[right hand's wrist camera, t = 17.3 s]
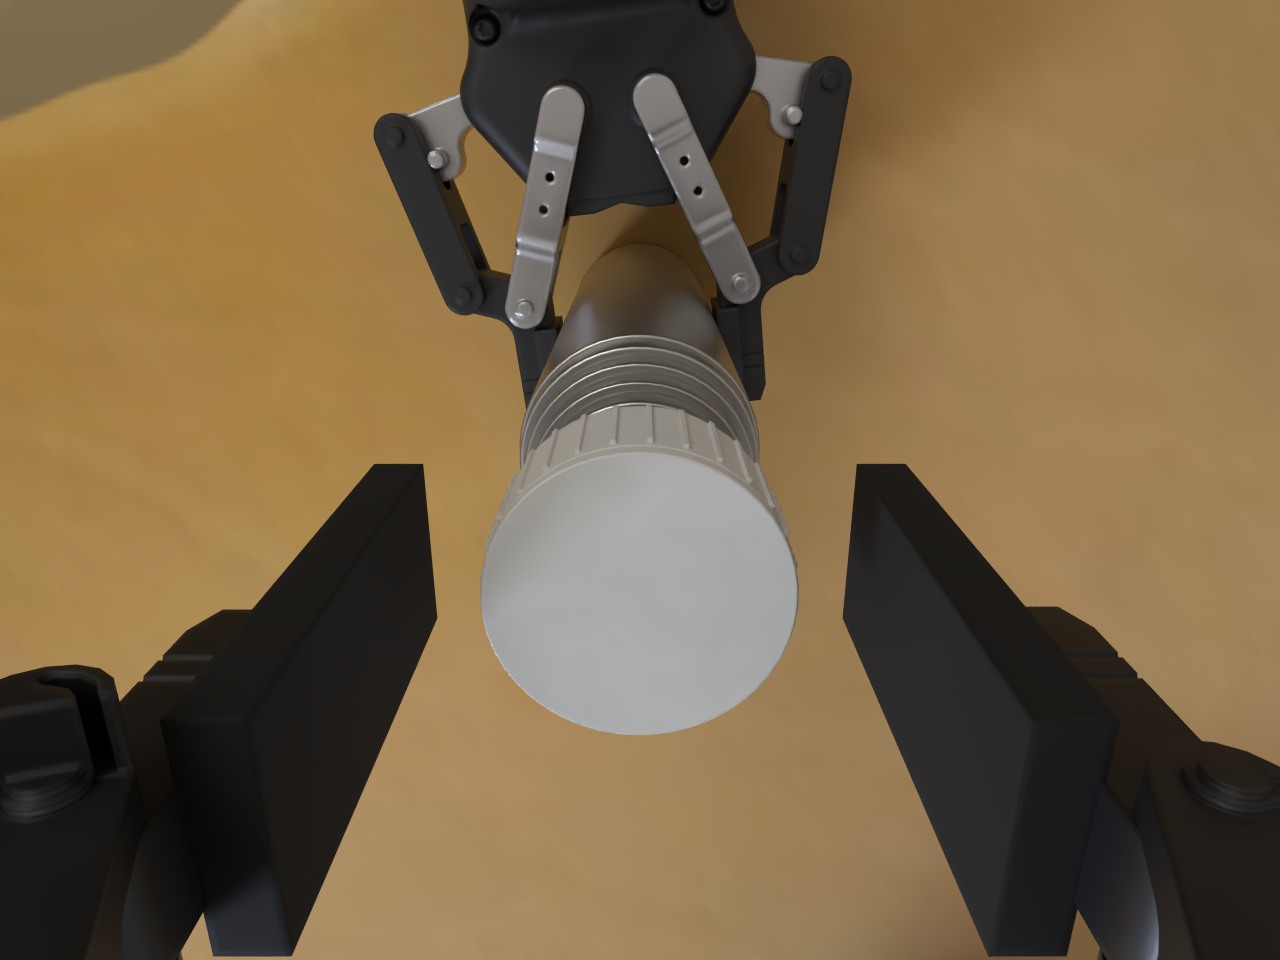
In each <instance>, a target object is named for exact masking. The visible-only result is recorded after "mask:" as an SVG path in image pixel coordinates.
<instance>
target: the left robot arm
mask: <svg viewBox="0 0 1280 960" xmlns="http://www.w3.org/2000/svg"><path fill="white" fill-rule="evenodd" d="M463 5H464V11H465V17H466V23H467V29H468V38H469V49H468V58H467V64H466V68H465V71H464V74H463V76H462V80H461V84H460V93H459V94H456V95H454V96H451V97H449V98H446V99H444V100H441V101H439V102H436V103H434V104H431V105H429V106H426V107H424V108H422V109H419V110H417V111H414V112H412V113H409V114H404V113H389V114H386V115H384V116H382V117H381V118H380V119H379V120H378V121H377V123H376V125H375V127H374V140H375V143H376V145H377V148H378V150H379V152H380V155H381V157H382V159H383V161H384V164H385V166H386V168H387V171H388V173H389V175H390V177H391V180H392V182H393V184H394V187H395V189H396V191H397V194H398V196H399V198H400V200H401V203H402V205H403V207H404V210H405V212H406V214H407V216H408V219H409V221H410V223H411V226H412V228H413V230H414V232H415V235H416V237H417V239H418V242H419V244H420V246H421V248H422V251H423V253H424V255H425V258H426V260H427V262H428V264H429V267H430V269H431V271H432V274H433V276H434V278H435V280H436V283H437V285H438V287H439V290H440V292H441V294H442V296H443V299H444V301H445V303H446V305H447V306H448V308H449V309H450V310H451V311H453V312H454V313H456V314H459V315H470V314H473V313H474V314H478V315H482V316H487V317H491V318H495V319H498V320H500V321H502V322H503V323H505V324H506V325H507V326H508V327H509V328H510V330H511V331H512V333H513V336H514V339H515V344H516V350H517V356H518V362H519V368H520V374H521V380H522V387H523V392H524V399H525V405H526V410H527V407H528V405H529V402H530V400H531V397H532V395H533V393H534V390H535V388H536V386H537V383H538V381H539V379H540V377H541V374H542V372H543V370H544V367H545V365H546V363H547V360H548V358H549V356H550V354H551V351H552V349H553V347H554V344H555V342H556V340H557V337H558V335H559V333H560V331H561V328H562V326H563V319H562V316H557V317H555V312H554V305H553V298H552V297H553V293H554V288H555V283H556V278H557V274H558V269H559V264H560V259H561V255H562V250H563V247H564V243H565V239H566V235H567V230H568V226H569V221H570V216H577V215H586V214H594V213H597V212H600V211H602V210H605V209H607V208H610V207H612V206H614V205H617V204H619V203H627V204H634V205H640V206H647V207H652V206H660V205H668V204H675V201H676V200H677V201H678V203H679V205H680V207H681V209H682V211H683V213H684V216H685V218H686V220H687V222H688V224H689V226H690V228H691V230H692V232H693V234H694V236H695V238H696V240H697V243H698V245H699V247H700V249H701V251H702V253H703V255H704V257H705V259H706V262H707V264H708V266H709V268H710V270H711V272H712V274H713V276H714V278H715V281H716V289H717V297H715V298H711V305H712V316H713V318H714V320H715V323H716V325H717V327H718V329H719V332H720V334H721V336H722V339H723V341H724V343H725V346H726V348H727V350H728V353H729V355H730V357H731V360H732V362H733V364H734V367H735V369H736V371H737V374H738V376H739V378H740V380H741V383H742V385H743V387H744V390H745V392H746V394H747V397H748V399H749V401H754V400H761V397H762V394H763V390H764V387H765V384H766V381H765V367H764V354H763V338H762V323H761V303H762V300H763V297H764V296H765V294H766V293H767V291H768V290H769V289H770V288H772V287H773V286H775V285H776V284H778V283H780V282H782V281H784V280H787V279H789V278H791V277H793V276H795V275H803V274H806V273H808V272H810V271H811V270H812V269H813V268H814V267H815V266H816V264H817V262H818V259H819V255H820V249H821V244H822V238H823V233H824V228H825V222H826V217H827V211H828V206H829V200H830V195H831V190H832V184H833V179H834V173H835V168H836V163H837V157H838V152H839V146H840V141H841V135H842V130H843V125H844V119H845V114H846V108H847V103H848V97H849V92H850V87H851V80H852V76H851V71H850V68H849V66H848V64H847V63H846V62H845V61H844V60H842V59H841V58H839V57H835V56H828V57H824V58H822V59H820V60H818V61H816V62H803V61H796V60H788V59H780V58H773V57H765V56H758V55H755V52H754V49H753V46H752V44H751V42H750V41H749V39H748V38H747V36H746V34H745V33H744V31H743V29H742V27H741V25H740V23H739V21H738V18H737V15H736V11H735V7H734V1H733V0H463ZM749 92H751V93H754V94H756V95H757V96H758V97H759V98H761V100H762V101H763V103H764V105H765V109H766V123H767V127H768V129H769V130H770V132H771V133H772V134H773V135H775V136H776V137H779V138H783V139H785V144H784V150H783V156H782V162H781V168H780V174H779V180H778V187H777V193H776V199H775V205H774V211H773V217H772V223H771V229H770V235H769V237H767V238H765V239H763V240H761V241H759V242H757V243H755V244H753V245H751V246H749V247H746V245H745V243H744V241H743V239H742V236H741V234H740V232H739V230H738V228H737V225H736V223H735V220H734V217H733V215H732V212H731V210H730V208H729V205H728V203H727V201H726V199H725V197H724V194H723V192H722V190H721V188H720V186H719V183H718V181H717V179H716V177H715V175H714V172H713V170H712V168H711V166H710V162H711V161H712V159H713V157H714V155H715V153H716V152H717V150H718V148H719V146H720V144H721V143H722V141H723V139H724V137H725V135H726V134H727V132H728V130H729V128H730V126H731V124H732V123H733V121H734V119H735V117H736V115H737V114H738V112H739V110H740V108H741V106H742V105H743V103H744V101H745V99H746V97H747V96H748V94H749ZM474 127H475V129H476V130H477V131H478V132H479V133H480V134H481V135H482V136H483V137H484V138H485V139H486V141H487V142H488V143H489V144H490V145H491V146H492V147H493V148H494V149H495V150H496V151H497V153H498V154H499V155H500V156H501V157H502V158H503V159H504V160H505V161H506V162H507V163H508V165H509V166H510V167H511V168H512V169H513V170H514V171H515V172H516V173H517V174H518V176H519V177H520V178H521V179H522V180H523V181H524V182H525V183H526V189H525V195H524V200H523V205H522V210H521V216H520V221H519V226H518V231H517V237H516V251H515V257H514V262H513V267H512V273H511V275H510V274H506V273H502V272H498V271H494V270H491V269H490V267H489V264H488V262H487V259H486V257H485V255H484V252H483V250H482V247H481V245H480V243H479V240H478V238H477V235H476V233H475V230H474V228H473V226H472V223H471V221H470V218H469V216H468V214H467V211H466V209H465V206H464V204H463V201H462V199H461V197H460V194H459V192H458V189H457V187H456V185H455V182H454V180H453V179H456V178H458V177H459V176H460V175H461V174H462V173H463V172H464V170H465V168H466V162H467V159H466V154H465V150H464V142H465V138H466V136H467V134H468V132H469V131H470V130H471V129H472V128H474ZM694 188H695V189H694Z"/></svg>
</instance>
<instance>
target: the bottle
mask: <svg viewBox="0 0 1280 960" xmlns="http://www.w3.org/2000/svg"><path fill="white" fill-rule="evenodd" d="M646 404H652V407H660V408H666V409H670V410H675V411H679V409H681V410H684V413H685V414H688V415H691V416H694V417H697V418H699V419H701V420H703V421H705V422H707V423H709V421H711V422H713V423H714V424H715V427H716V428H717V429H719V430H720V431H722V432H723V433H725V434H726V435H728V436H729V437H730V438H731V439H732V440H733V441H735V440H736V439H737V440H738V441H739V442H740V444H741V447H742V449H743V450H744V451H745V452H746V454H747V455H748V456H749V457H750V458H751V460H752V461H753V462H754V464H755V463H756V462H758V463H759V448H760V444H759V432H758V427H757V422H756V418H755V415H754V412H753V409H752V407H751V404H750V401H749V399H748V397H747V394H746V392H745V390H744V387H743V385H742V383H741V380H740V378H739V376H738V374H737V371H736V369H735V367H734V364H733V362H732V360H731V357H730V355H729V353H728V350H727V348H726V346H725V343H724V341H723V339H722V336H721V334H720V332H719V329H718V327H717V325H716V323H715V320H714V318H713V316H712V313H711V311H710V309H709V306H708V304H707V302H706V299H705V297H704V295H703V292H702V290H701V288H700V285H699V283H698V281H697V279H696V277H695V275H694V273H693V272H692V271H691V269H690V268H689V266H688V265H687V264H686V263H685V262H684V261H683V260H682V259H680V258H679V257H678V256H677V255H675V254H674V253H672V252H670V251H669V250H666V249H664V248H662V247H658V246H655V245H650V244H630V245H625V246H621V247H618V248H616V249H613V250H611V251H609V252H608V253H606V254H604V255H603V256H602V257H600V258H599V259H598V260H597V261H596V262H595V263H594V264H593V265H592V266H591V267H590V269H589V270H588V271H587V273H586V275H585V276H584V278H583V280H582V282H581V285H580V287H579V289H578V291H577V294H576V296H575V298H574V301H573V303H572V305H571V308H570V310H569V312H568V314H567V317H566V319H565V321H564V324H563V326H562V328H561V331H560V333H559V335H558V337H557V340H556V342H555V344H554V347H553V349H552V351H551V354H550V356H549V358H548V360H547V363H546V365H545V367H544V370H543V372H542V374H541V377H540V379H539V381H538V383H537V386H536V388H535V390H534V393H533V395H532V397H531V400H530V402H529V405H528V407H527V410H526V412H525V415H524V419H523V423H522V428H521V435H520V470H521V468H522V467H523V465H524V464H525V462H526V460H527V457H528V455H529V452H530V451H531V450H532V449H534V450H536V449H537V448H538V447H539V446H540V445H541V444H542V443H543V442H544V441H545V440H547V439H548V438H549V437H550V436H551V435H552V432H553V430H555V429H556V428H557V429H558V430H560V429H562V428H563V427H565V426H567V425H568V424H570V423H572V422H574V421H576V420H578V419H581V415H583V414H587V415H590V414H594V413H597V412H600V411H603V410H608V409H613V406H616V405H618V407H619V408H620V407H630V406H646Z"/></svg>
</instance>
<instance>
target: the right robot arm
mask: <svg viewBox="0 0 1280 960" xmlns="http://www.w3.org/2000/svg"><path fill="white" fill-rule="evenodd" d="M436 620H437V610H436V599H435V588H434V577H433V566H432V555H431V544H430V534H429V523H428V512H427V501H426V490H425V479H424V468H423V464H374V465H373V466H372V467H371V469H370V470H369V471H368V472H367V473H366V475H365V476H364V477H363V478H362V479H361V481H360V482H359V483H358V484H357V485H356V487H355V488H354V489H353V490H352V491H351V492H350V494H349V495H348V496H347V497H346V498H345V500H344V501H343V502H342V503H341V504H340V506H339V507H338V508H337V509H336V510H335V512H334V513H333V514H332V515H331V516H330V517H329V519H328V520H327V521H326V522H325V523H324V525H323V526H322V527H321V528H320V529H319V531H318V532H317V533H316V534H315V535H314V537H313V538H312V539H311V540H310V541H309V542H308V544H307V545H306V546H305V547H304V548H303V550H302V551H301V552H300V553H299V554H298V556H297V557H296V558H295V559H294V560H293V562H292V563H291V564H290V565H289V566H288V567H287V569H286V570H285V571H284V572H283V573H282V575H281V576H280V577H279V578H278V579H277V581H276V582H275V583H274V584H273V585H272V587H271V588H270V589H269V590H268V591H267V592H266V594H265V595H264V596H263V597H262V598H261V600H260V601H259V602H258V603H257V604H256V606H255V607H254V608H253V609H252V610H221V611H220V612H218V613H216V614H214V615H213V616H211V617H209V618H207V619H206V620H204V621H202V622H201V623H199V624H197V625H195V626H194V627H192V628H190V629H189V630H187V631H186V632H185V633H184V634H183V635H182V636H181V637H180V638H179V639H178V640H177V641H176V642H175V643H174V644H173V645H172V647H171V648H170V649H169V650H168V651H167V652H166V653H165V654H164V655H163V660H162V661H157V663H156V664H155V665H154V666H153V667H152V668H151V669H150V670H149V671H148V672H147V673H146V674H145V675H144V679H143V682H138V683H137V684H136V685H135V686H134V687H133V688H132V689H131V690H130V691H129V692H128V693H127V694H126V696H125V697H124V698H123V699H122V700H121V701H120V702H119V698H118V694H117V690H116V686H115V682H114V678H113V677H111V676H110V675H109V674H107V673H106V672H104V671H103V670H102V669H100V668H94V667H88V666H82V665H64V666H51V667H43V668H39V669H35V670H31V671H26V672H22V673H18V674H14V675H10V676H8V677H5V678H3V679H0V960H183V958H182V954H181V950H182V948H183V946H184V945H185V943H186V941H187V939H188V938H189V936H190V934H191V932H192V931H193V929H194V927H195V925H196V924H197V922H198V920H199V918H200V917H201V915H202V913H204V917H205V922H206V926H207V931H208V935H209V939H210V944H211V948H212V952H213V956H292V954H293V952H294V950H295V947H296V945H297V943H298V940H299V938H300V936H301V933H302V931H303V929H304V926H305V924H306V922H307V919H308V917H309V915H310V912H311V910H312V908H313V905H314V903H315V901H316V898H317V896H318V894H319V892H320V889H321V887H322V885H323V882H324V880H325V878H326V875H327V873H328V871H329V868H330V866H331V864H332V861H333V859H334V857H335V854H336V852H337V850H338V847H339V845H340V843H341V840H342V838H343V836H344V834H345V831H346V829H347V827H348V824H349V822H350V820H351V817H352V815H353V813H354V810H355V808H356V806H357V803H358V801H359V799H360V796H361V794H362V792H363V789H364V787H365V785H366V782H367V780H368V778H369V776H370V773H371V771H372V769H373V766H374V764H375V762H376V759H377V757H378V755H379V752H380V750H381V748H382V745H383V743H384V741H385V738H386V736H387V734H388V731H389V729H390V727H391V724H392V722H393V720H394V718H395V715H396V713H397V711H398V708H399V706H400V704H401V701H402V699H403V697H404V694H405V692H406V690H407V687H408V685H409V683H410V680H411V678H412V676H413V673H414V671H415V669H416V666H417V664H418V662H419V659H420V657H421V655H422V653H423V650H424V648H425V646H426V643H427V641H428V639H429V636H430V634H431V632H432V629H433V627H434V625H435V622H436ZM843 620H844V622H845V625H846V627H847V629H848V632H849V634H850V636H851V639H852V641H853V643H854V646H855V648H856V650H857V653H858V655H859V657H860V659H861V662H862V664H863V666H864V669H865V671H866V673H867V676H868V678H869V680H870V683H871V685H872V687H873V690H874V692H875V694H876V697H877V699H878V701H879V704H880V706H881V708H882V711H883V713H884V715H885V718H886V720H887V722H888V724H889V727H890V729H891V731H892V734H893V736H894V738H895V741H896V743H897V745H898V748H899V750H900V752H901V755H902V757H903V759H904V762H905V764H906V766H907V769H908V771H909V773H910V776H911V778H912V780H913V782H914V785H915V787H916V789H917V792H918V794H919V796H920V799H921V801H922V803H923V806H924V808H925V810H926V813H927V815H928V817H929V820H930V822H931V824H932V827H933V829H934V831H935V834H936V836H937V838H938V840H939V843H940V845H941V847H942V850H943V852H944V854H945V857H946V859H947V861H948V864H949V866H950V868H951V871H952V873H953V875H954V878H955V880H956V882H957V885H958V887H959V889H960V892H961V894H962V896H963V899H964V901H965V903H966V905H967V908H968V910H969V912H970V915H971V917H972V919H973V922H974V924H975V926H976V929H977V931H978V933H979V936H980V938H981V940H982V943H983V945H984V947H985V950H986V952H987V954H988V956H1067V952H1068V948H1069V944H1070V939H1071V935H1072V931H1073V926H1074V922H1075V917H1076V913H1077V909H1078V910H1079V912H1080V914H1081V915H1082V917H1083V919H1084V921H1085V922H1086V924H1087V926H1088V928H1089V929H1090V931H1091V933H1092V935H1093V936H1094V938H1095V940H1096V942H1097V943H1098V945H1099V947H1100V950H1099V954H1098V958H1097V960H1280V767H1279V766H1277V765H1275V764H1273V763H1271V762H1269V761H1266V760H1264V759H1262V758H1260V757H1258V756H1256V755H1253V754H1251V753H1249V752H1247V751H1243V750H1240V749H1236V748H1233V747H1229V746H1225V745H1222V744H1218V743H1215V742H1205V741H1201V740H1200V739H1199V738H1198V737H1197V736H1196V735H1195V734H1194V733H1193V731H1192V730H1191V729H1190V728H1189V727H1188V726H1187V725H1186V724H1185V723H1184V722H1183V721H1182V720H1181V719H1180V718H1179V717H1178V716H1177V715H1176V713H1175V712H1174V711H1173V710H1172V709H1171V708H1170V707H1169V706H1168V705H1167V704H1166V703H1165V702H1164V701H1163V700H1162V699H1161V698H1160V697H1159V696H1158V694H1157V693H1156V692H1155V691H1154V690H1153V689H1152V688H1151V687H1150V686H1149V685H1148V684H1147V683H1146V682H1145V681H1144V680H1143V679H1142V678H1138V677H1137V672H1136V671H1135V670H1134V669H1133V668H1132V667H1131V666H1130V665H1129V664H1128V663H1127V662H1126V661H1125V660H1124V659H1123V658H1122V657H1118V652H1117V651H1116V650H1115V649H1114V648H1113V647H1112V646H1111V645H1110V644H1109V643H1108V642H1107V641H1106V640H1105V638H1104V637H1103V636H1102V635H1101V634H1100V633H1099V632H1098V631H1097V630H1096V629H1095V628H1094V627H1092V626H1090V625H1089V624H1087V623H1085V622H1083V621H1082V620H1080V619H1078V618H1077V617H1075V616H1073V615H1071V614H1070V613H1068V612H1066V611H1064V610H1063V609H1061V608H1059V607H1025V606H1024V604H1023V603H1022V602H1021V601H1020V600H1019V598H1018V597H1017V596H1016V595H1015V594H1014V592H1013V591H1012V590H1011V589H1010V588H1009V587H1008V585H1007V584H1006V583H1005V582H1004V581H1003V579H1002V578H1001V577H1000V576H999V575H998V573H997V572H996V571H995V570H994V569H993V567H992V566H991V565H990V564H989V563H988V562H987V560H986V559H985V558H984V557H983V556H982V554H981V553H980V552H979V551H978V550H977V548H976V547H975V546H974V545H973V544H972V542H971V541H970V540H969V539H968V538H967V537H966V535H965V534H964V533H963V532H962V531H961V529H960V528H959V527H958V526H957V525H956V523H955V522H954V521H953V520H952V519H951V517H950V516H949V515H948V514H947V513H946V512H945V510H944V509H943V508H942V507H941V506H940V504H939V503H938V502H937V501H936V500H935V498H934V497H933V496H932V495H931V494H930V492H929V491H928V490H927V489H926V488H925V487H924V485H923V484H922V483H921V482H920V481H919V479H918V478H917V477H916V476H915V475H914V473H913V472H912V471H911V470H910V469H909V467H908V466H907V465H906V464H857V468H856V479H855V490H854V501H853V512H852V523H851V534H850V544H849V555H848V566H847V577H846V588H845V599H844V610H843Z"/></svg>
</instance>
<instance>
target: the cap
mask: <svg viewBox="0 0 1280 960" xmlns="http://www.w3.org/2000/svg"><path fill="white" fill-rule="evenodd" d="M789 536H790V533H789V531H788V528H787V525H786V523H785V520H784V518H783V515H782V513H781V510H780V507H779V505H778V502H777V500H776V497H775V495H774V492H773V489H769V488H768V485H767V483H766V480H765V477H764V475H763V472H762V469H761V467H760V465H759V463H758V462H756V463H755V464H754V462H753V461H752V460H751V458H750V457H749V456H748V455H747V454H746V452H745V451H744V450H743V449H742V447H741V444H740V442H739V441H738V440H737V439H736V440H735V441H733V440H732V439H731V438H730V437H729V436H728V435H726V434H725V433H723V432H722V431H720V430H719V429H717V428H716V427H715V424H714V423H713V422H711V421H709V423H707V422H705V421H703V420H701V419H699V418H697V417H694V416H691V415H688V414H685V413H684V410H681V409H679V411H675V410H670V409H666V408H660V407H652V404H646V406H630V407H620V408H619V407H618V405H616V406H613V409H608V410H603V411H600V412H597V413H594V414H590V415H587V414H583V415H581V419H578V420H576V421H574V422H572V423H570V424H568V425H567V426H565V427H563V428H562V429H560V430H558V429H557V428H556V429H555V430H553V432H552V435H551V436H550V437H549V438H548V439H547V440H545V441H544V442H543V443H542V444H541V445H540V446H539V447H538V448H537V449H536V450H534V449H532V450H531V451H530V452H529V455H528V457H527V460H526V462H525V464H524V465H523V467H522V468H521V470H520V471H519V473H518V475H517V474H515V473H514V474H513V476H512V478H511V481H510V484H509V486H508V489H507V491H506V494H505V496H504V499H503V501H502V504H501V506H500V509H499V512H498V514H497V517H496V519H495V522H494V524H493V527H492V530H491V532H490V535H489V537H488V540H487V542H486V545H485V549H484V550H487V554H486V557H485V560H484V565H483V570H482V575H481V589H480V601H481V609H482V617H483V621H484V625H485V628H486V632H487V635H488V638H489V640H490V642H491V645H492V647H493V649H494V652H495V653H496V655H497V657H498V658H499V660H500V662H501V663H502V665H503V667H504V668H505V670H506V671H507V672H508V673H509V675H510V676H511V677H512V678H513V680H514V681H515V682H516V683H517V684H518V685H519V686H520V687H521V688H522V689H523V690H524V691H525V692H526V693H527V694H528V695H529V696H530V697H532V698H533V699H534V700H536V701H537V702H538V703H540V704H541V705H542V706H544V707H545V708H547V709H549V710H550V711H552V712H554V713H556V714H557V715H559V716H561V717H563V718H565V719H568V720H570V721H572V722H574V723H577V724H579V725H583V726H586V727H589V728H592V729H596V730H600V731H605V732H611V733H616V734H629V735H652V734H661V733H668V732H675V731H679V730H683V729H686V728H690V727H694V726H696V725H699V724H702V723H704V722H707V721H709V720H712V719H714V718H716V717H718V716H720V715H721V714H723V713H725V712H727V711H729V710H730V709H732V708H733V707H735V706H736V705H738V704H739V703H741V702H742V701H744V700H745V699H746V698H747V697H748V696H749V695H750V694H752V693H753V692H754V691H755V690H756V689H757V688H758V687H759V686H760V685H761V684H762V683H763V682H764V680H765V679H766V678H767V677H768V676H769V675H770V674H771V672H772V671H773V669H774V668H775V666H776V665H777V663H778V662H779V660H780V659H781V657H782V655H783V653H784V651H785V649H786V647H787V645H788V643H789V640H790V637H791V634H792V631H793V628H794V625H795V620H796V615H797V609H798V589H799V587H798V579H797V570H796V568H797V562H796V559H795V556H794V554H793V551H792V548H791V546H790V543H789V541H788V538H787V537H789Z"/></svg>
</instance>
